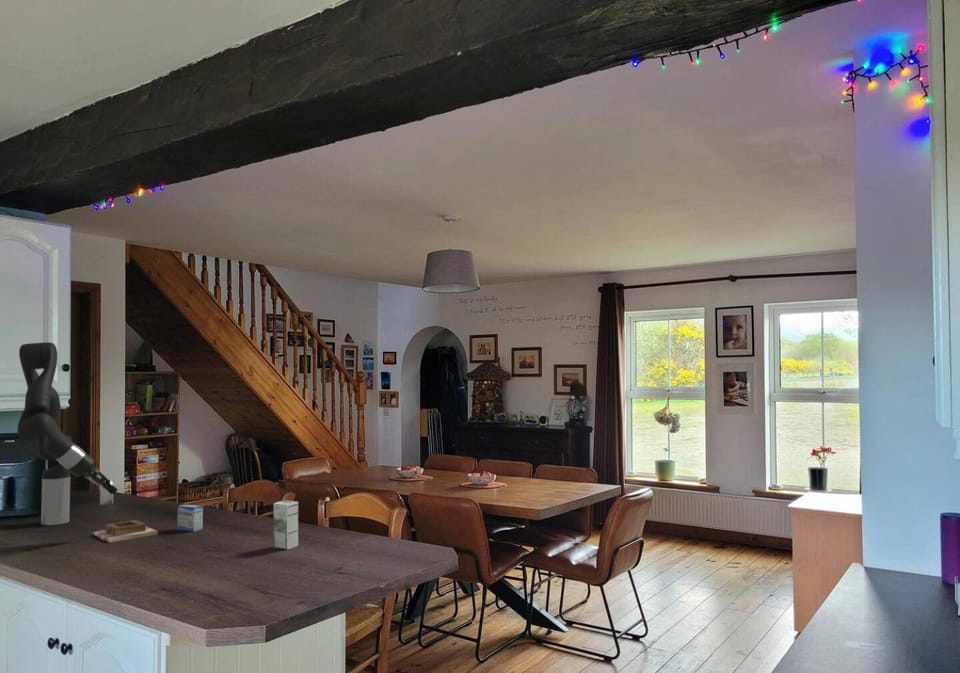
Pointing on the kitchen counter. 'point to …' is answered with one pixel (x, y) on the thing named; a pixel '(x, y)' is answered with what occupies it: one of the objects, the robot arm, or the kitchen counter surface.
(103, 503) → the grey cylinder
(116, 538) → the wooden socket base
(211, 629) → the kitchen counter surface
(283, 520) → the syrup box
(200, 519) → the medicine box
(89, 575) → the kitchen counter surface
